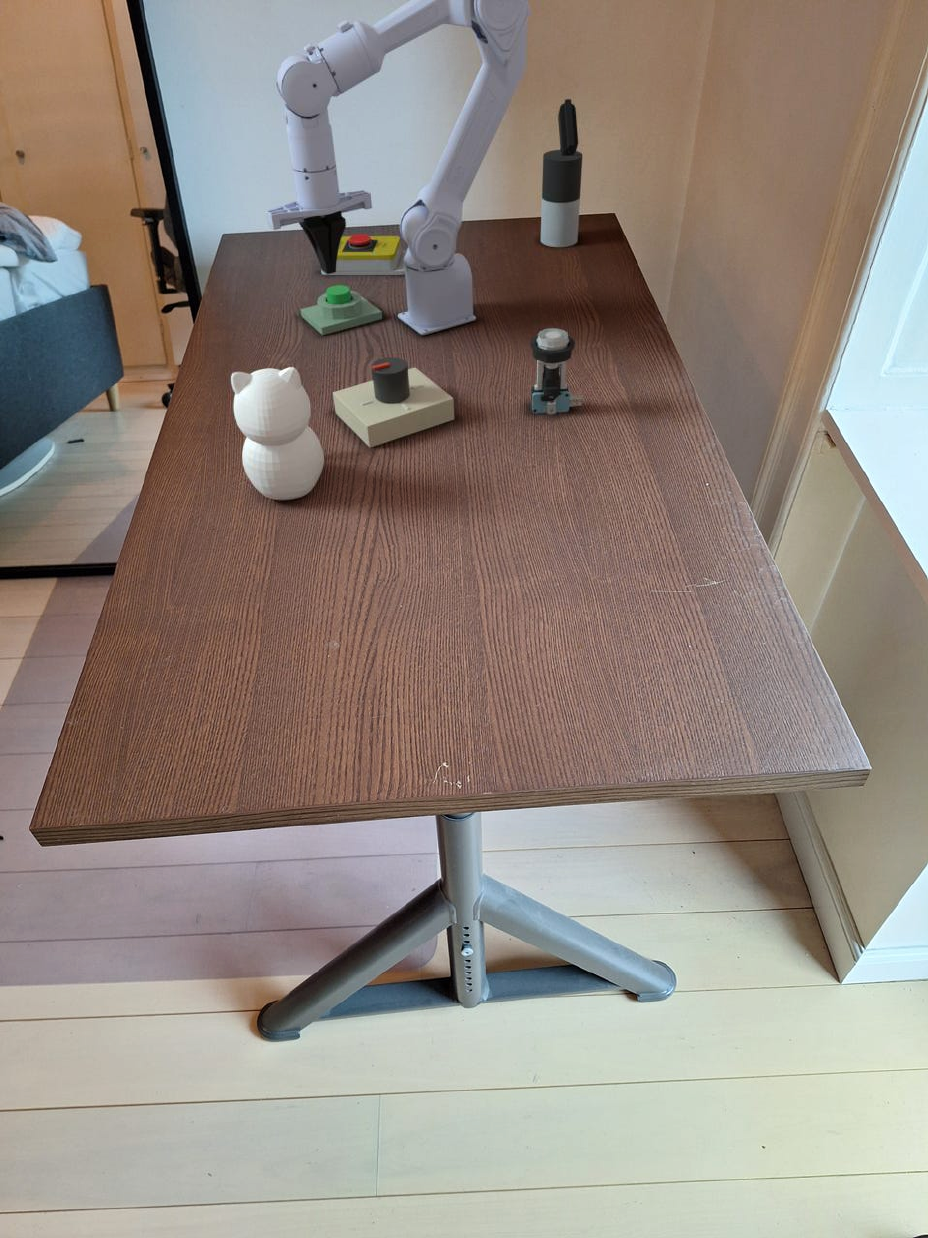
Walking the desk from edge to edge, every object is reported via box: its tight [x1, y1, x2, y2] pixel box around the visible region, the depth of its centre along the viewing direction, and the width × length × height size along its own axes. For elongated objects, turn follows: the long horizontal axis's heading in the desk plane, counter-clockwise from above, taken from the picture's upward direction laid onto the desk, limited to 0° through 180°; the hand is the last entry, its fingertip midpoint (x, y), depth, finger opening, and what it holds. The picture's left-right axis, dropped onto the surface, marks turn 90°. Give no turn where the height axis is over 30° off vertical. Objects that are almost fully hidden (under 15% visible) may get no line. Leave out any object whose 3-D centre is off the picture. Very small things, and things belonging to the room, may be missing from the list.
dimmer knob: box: [371, 356, 410, 403], centre depth 105 cm, size 4×4×4 cm
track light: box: [540, 98, 583, 248], centre depth 144 cm, size 6×17×20 cm
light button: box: [325, 284, 351, 305], centre depth 129 cm, size 4×4×2 cm
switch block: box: [300, 290, 383, 336], centre depth 130 cm, size 10×8×3 cm
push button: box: [530, 327, 583, 415], centre depth 105 cm, size 7×5×10 cm
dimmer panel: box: [332, 367, 455, 449], centre depth 108 cm, size 12×10×3 cm
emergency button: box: [320, 234, 407, 276], centre depth 145 cm, size 9×4×15 cm
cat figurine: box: [230, 366, 325, 501], centre depth 94 cm, size 9×12×15 cm
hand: (328, 270), depth 120 cm, fingers closed
